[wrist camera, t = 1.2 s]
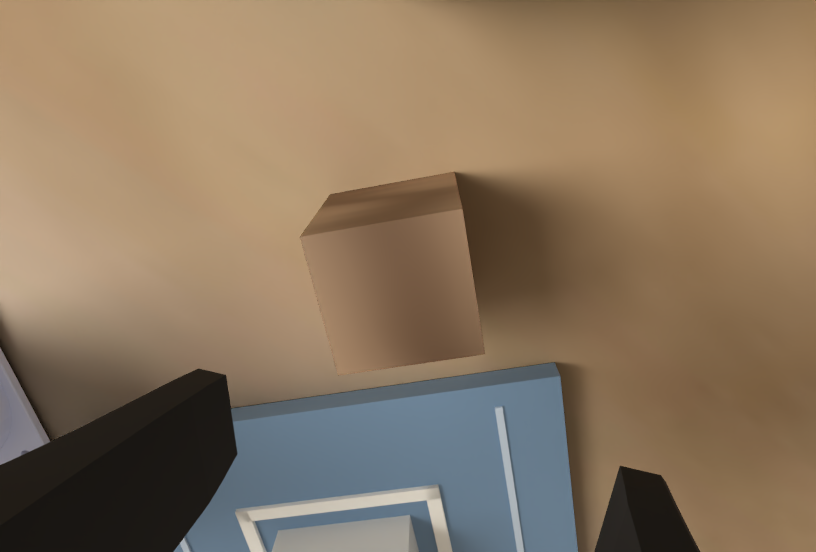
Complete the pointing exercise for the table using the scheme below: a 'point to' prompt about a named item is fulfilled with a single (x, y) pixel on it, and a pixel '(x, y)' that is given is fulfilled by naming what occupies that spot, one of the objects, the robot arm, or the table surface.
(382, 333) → the walnut block
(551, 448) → the blueprint board
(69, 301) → the table surface
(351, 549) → the base block
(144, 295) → the table surface
